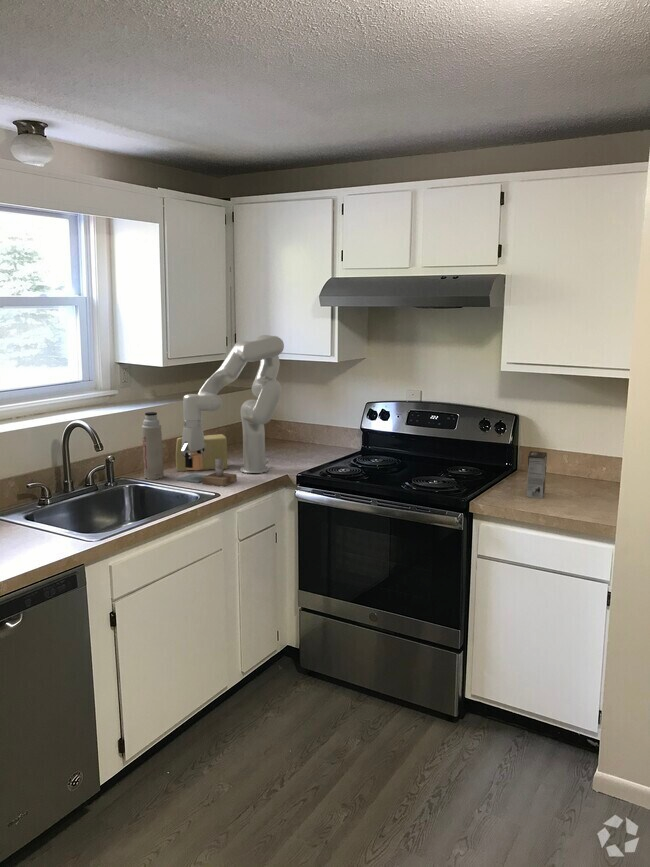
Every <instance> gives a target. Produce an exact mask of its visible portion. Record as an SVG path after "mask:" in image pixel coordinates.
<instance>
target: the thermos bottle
mask: <svg viewBox="0 0 650 867" xmlns="http://www.w3.org/2000/svg"><path fill="white" fill-rule="evenodd" d="M144 415H145V416H144V418H145V419H144V420H143V422H142V425H141V436H142V456H143V472H144V473H143V474H144V475H143V477H144V479H145V478H147V479H146V480H159V478H160V479H163V478H164V475H165V473H164V460H163V437H162V436H163V435H162V425H161V424H160V423H161V422H160V419H158V413H157V412H156V411H148V412H145V413H144Z"/></svg>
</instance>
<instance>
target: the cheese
mask: <svg viewBox="0 0 650 867" xmlns="http://www.w3.org/2000/svg"><path fill="white" fill-rule="evenodd" d="M227 441H228V440H227V437H226V436H225V435H224V434H222V433H221V434H220V433H219V434H208V435H204V443H205V444H206V447H205V449H204V452H203V469H201V470H200V471H210V470H209V469H214V470H215V459H217V458H222V459H223V470H227V469H228V446H227V445H228V442H227ZM175 448H176V449H175V464H176V465H175V468H176V472H188V471H187V470H188V469H187V468H186V467H185V458H184V456H183V454H182V452H181V450H182V436H181V437H178V438H176V446H175ZM188 451H189V450H188ZM192 453H196V451H194V452H192ZM188 454H189V453H188Z"/></svg>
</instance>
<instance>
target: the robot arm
mask: <svg viewBox="0 0 650 867" xmlns="http://www.w3.org/2000/svg"><path fill="white" fill-rule="evenodd" d="M284 344H285V343H284V341H283V339H282V338H281V337H279V336H276V335H268V334H263V335H259V336H258V337H257V338H256V340H253V341H248V340H239V341H237V342H236V343H235V344H234V345H233V347H231V350H230V351H229V353H228V354H227V355H226V357H225V358H224V360H223V362H222V363H221V365H220V366H219V368H218V369H217V370H216V371H215V372H214V373H212V375H211V376H210V377H208V379H207V380H205V382H204V384H203V385H202V386H201V387H200V389H199V391H198V393H188V394H185V395H184V396H183V397H182V400H183V401H182V402H183V407H182V408H183V429H182V435H181V437H182V450H181V452H182V454H183V456H184V458H185V467H186V468H192V458H191V457H192V452H194V451H196V453H200V454H202V457H203V452H204V449H205V447H206V444H205V443H204V436H205V435H204V427H203V412H210V413H211V412H217V411H218V410H219V409H220V408H221V407H222V406H223V405H222V404H223V401H222V400H223V399H221V397H220V395H218V394H219V392H221V390H222V389H223V388H224V387H225V386H227V385H229V384H231V383H233V382H234V381H236V380H237V379H238V377H239V376H240V375H241V372H242V371H243V369H244V367H245V366H246V365H247V363H248V362H249V363H250V362H251V363H253V362H258V361H259V367H258V369H257V372H256V375H255V378H254V380H253V382H252V385H251V392H252V394H253V396H254V397H256V398H257V399H247V400H245V401H244V402H243V403H242V405H241V406H240V419H241V425H242V426H241V427H242V447H243V448H242V454H243V455H242V458H243V466H241V467H240V469H239V470H240V471H239V472H240V473H242V472H244V473H243V474H247V473H260V474H264V473H263V472H265V473H267V471H268V470H269V471H270V467H269V466H267V465H266V464H269V463H270V459H269V458H266V441H265V440H266V439H265V438H266V437H265V436H266V433H265V432H266V431H265V424H268V423H270V421H271V420H272V418H273V416H274V414H275V411H276V409H277V407H278V403H279V402H280V400H281V399H280V398H281V397H282V396H281V395H282V386H281V383H280V381H278V380H277V376H278V374H279V370H280V365H281V364H280V356H279V355H281V354H282V353H283V351H284V349H285V348H284V347H285V345H284ZM188 450H189V451H188ZM188 453H189V454H188ZM269 471H268V472H269Z"/></svg>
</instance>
